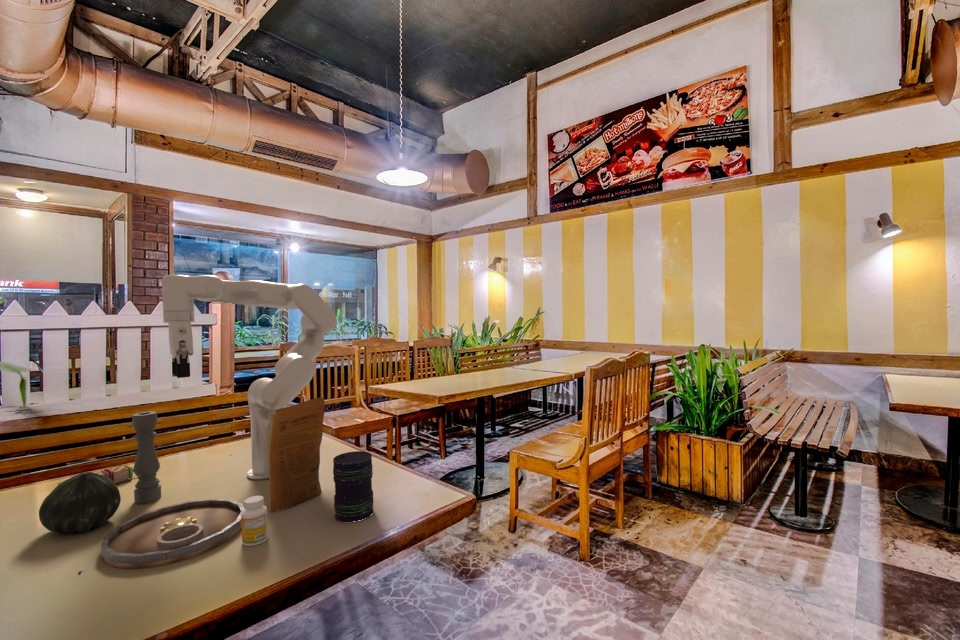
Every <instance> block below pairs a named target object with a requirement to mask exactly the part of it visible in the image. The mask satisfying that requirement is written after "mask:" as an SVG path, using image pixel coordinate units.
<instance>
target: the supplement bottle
mask: <svg viewBox="0 0 960 640" xmlns="http://www.w3.org/2000/svg"><path fill="white" fill-rule="evenodd" d="M243 502H244V505H243V506H244V508H245V509H244V510H243V511H242V513H241V523H242V529H241V540H242V541H241V543H242V544H243V545H244V546H246V547H251V546H253V547H254V546H258V545H260V544H263V543H264V542H266V541H267V540H268V538H269V526H268V525H269V521H268V508H267V506H266V505H264V502H265V501H264V496H263V495H253V496H250V497H248V498H246V499H244V501H243Z"/></svg>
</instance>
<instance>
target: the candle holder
mask: <svg viewBox="0 0 960 640" xmlns="http://www.w3.org/2000/svg"><path fill="white" fill-rule="evenodd" d="M131 418H132V420H131V421H132V427H133V429H134V430H135V432H136V434H135V435H134V436H133V438H134V440H136V444H137V453H136V457H135V461H134V464H133V467H132V468H133V471H134V472H133V474H134V475H135V476H136V477H137V482H136V484H134V487H135V490H133V499H134V501H133V502H134V504H135V505H147V504H151V503H154V502H157V501H158V500H160V499H162V485H161V484H159V483H161V480H160V479H159V478H158V477H157V475H158V472H159V470H160V468H161V464H160V460H159V457H158V455H157V452H156V449H155V437H156V436H157V435H158V433H157V432H156V431H154V430H155V428H156V427H157V424H158V412H157V411H156V410H155V411H152V410H151V411H143V412H136V413H134V414H132V415H131Z"/></svg>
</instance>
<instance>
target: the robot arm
mask: <svg viewBox="0 0 960 640" xmlns="http://www.w3.org/2000/svg"><path fill="white" fill-rule="evenodd" d="M161 286H162V287H161V290H162V291H161V292H162V296H161V297H162V316H163V317H162V318H163V319H162V320H163V323H164V324H166V323H168V343H169V351H170V355H171V356H172V358H171V359H172V361H171V370H172V375H174V376H176V378H177V379H181V378H190V377H191V363H190V357H189V356H191V357H192V356H193V355H194V354H195V353H194V339H193V337H194V336H193V330H192V329H193V327H192V323H195V300H196V301H199V302H200V301H201V302H209V303H221V304H233V305H234V304H235V305H241V306H249V307H251V306H252V307H261V308H262V307H263V308H273V309H274V308H275V309H285V310H299V311H300V312H301V314H302V315H301V318H300V329H301V335H300V337H299V339H298V340H297V342H296V343H295V344H294V345H293V346H292V347H290V349H289V350H288V351H287V352H286V353H285V354H284V355H282V357H281V358H279V360H278V361H277V362H276V363H275V366H274V375H275V377H273V378H272V377H271V378H269V377H261V378H257V379H256V380H254V381H252V383H251V384H250V386H249V388H248V390H247V403H248V408H249V414H250V416H249V418H250V419H249V420H250V442H251V444H250V445H251V466H252V468H250V469H249V470H248V471H247V473H246V477H247V478H248V479H250V480H267V479H268V478H269V467H268V442H269V433H270V422H271V416H272V415H273V414H275V410H277V409H280V408H285V407H288V405H290V403H291V402H292V401H293V400H295V398H296V397H297V396H298V395H299V394H300V393H301V392H302V391H303V389H305V387H306V386H307V385H308V384H309V383H310V382H311V381H312V380H313V377H314V375H315V369H316V367H315V364H314V361H315V359H317V357H318V356H320V354H321V352H322V350H323V348H324V345H325V334H328V333H331V332H333V331H334V329H335V328H336V327H337V325H338V319H337V315H336V313H335V312H334V311H333V309H332V308H331V307H330V306H329V305H328V304H327V303H326V302H325V300H324V299H323V298H322V297H321V296H320V295H319V294H318V293H317V291H316V290H314V288H312V287H311V286H309V285H308V284H305V283H297V284H291V283H290V284H289V283H280V282H272V281H265V280H257V279H256V280H255V279H252V280H236V281H235V280H223V279H221V278H220V277H218V276H217V275H212V274H207V275H206V274H204V275H187V274H186V275H184V274H167V275H164V276H163V277H162V279H161ZM268 480H269V479H268Z"/></svg>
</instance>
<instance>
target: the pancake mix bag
mask: <svg viewBox="0 0 960 640" xmlns="http://www.w3.org/2000/svg"><path fill="white" fill-rule="evenodd" d="M325 403H326V402H325V398H324V397H322V396H320V397H316V398H312V399H308V400H305V401H302V402H299V403H297V404H294V405H290V406H286V407H284V408H280V409H277V410H275V414H273V415H272V416H271V422H270V433H269V442H268V467H269V479H268V480H269V486H268V487H269V496H270V505H269V512H277V511H276V510H282V511H284V510H283V509H286V510H288V509H287V508H289V509H291V508H293V507H295V506H297V505H299V504H302V503H304V502H306V501H308V500H310V498H311V499H313V498H315V496H316V497H318V496H320V494H321V493H322V487H321V482H320V473H319V471H320V464H321V444H322V441H323V436H324V435H323V434H324V417H325V408H326V406H325ZM320 492H321V493H320ZM317 495H318V496H317ZM292 506H293V507H292ZM290 507H291V508H290Z"/></svg>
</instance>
